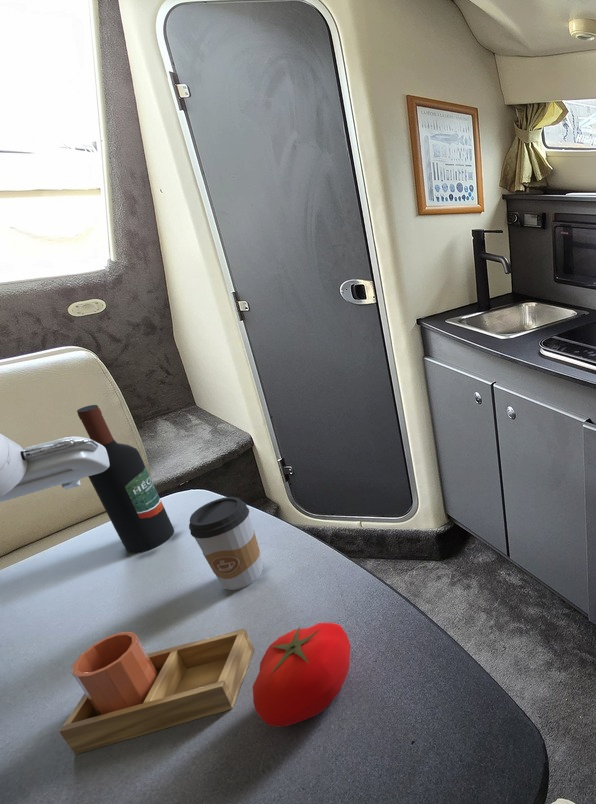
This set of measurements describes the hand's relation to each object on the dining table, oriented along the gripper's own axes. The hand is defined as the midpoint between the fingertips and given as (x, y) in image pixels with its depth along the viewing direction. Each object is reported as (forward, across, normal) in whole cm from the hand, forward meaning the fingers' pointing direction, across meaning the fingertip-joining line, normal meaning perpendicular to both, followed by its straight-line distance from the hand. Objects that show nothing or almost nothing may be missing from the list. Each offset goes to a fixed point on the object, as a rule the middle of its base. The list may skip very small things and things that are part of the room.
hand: (26, 496), depth 69 cm
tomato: (-4, -24, +42) cm, 49 cm away
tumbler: (+6, -5, +32) cm, 33 cm away
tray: (+5, -9, +34) cm, 35 cm away
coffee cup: (+19, -18, +20) cm, 33 cm away
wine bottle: (+37, -4, +2) cm, 37 cm away
